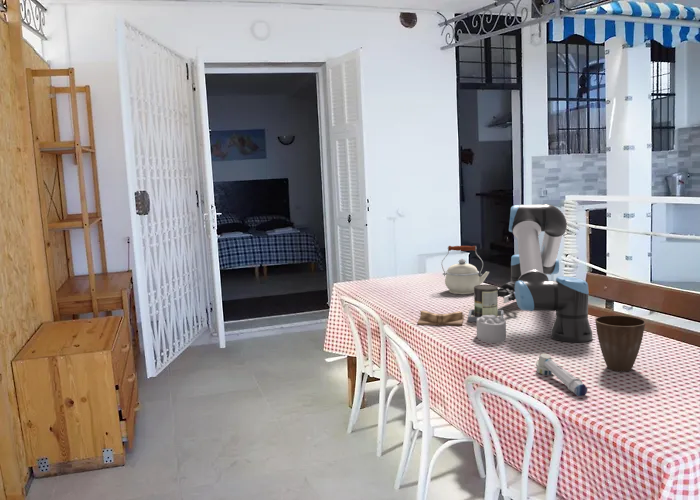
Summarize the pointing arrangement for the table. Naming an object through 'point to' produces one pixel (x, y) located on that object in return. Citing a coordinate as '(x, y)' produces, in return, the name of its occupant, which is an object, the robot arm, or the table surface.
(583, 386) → the toothbrush head
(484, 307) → the coffee can
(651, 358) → the table surface
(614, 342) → the plant pot
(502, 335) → the lumpy-topped squat cylinder
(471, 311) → the gray square tray
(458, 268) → the kettle
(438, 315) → the brown flat cloth piece
